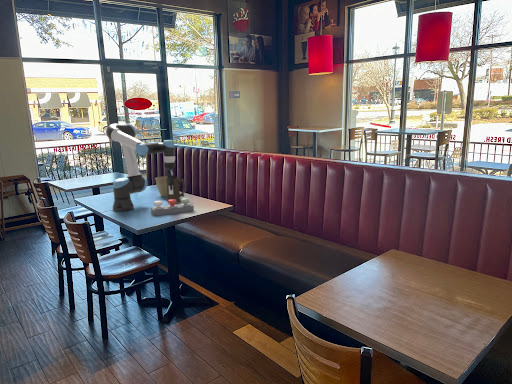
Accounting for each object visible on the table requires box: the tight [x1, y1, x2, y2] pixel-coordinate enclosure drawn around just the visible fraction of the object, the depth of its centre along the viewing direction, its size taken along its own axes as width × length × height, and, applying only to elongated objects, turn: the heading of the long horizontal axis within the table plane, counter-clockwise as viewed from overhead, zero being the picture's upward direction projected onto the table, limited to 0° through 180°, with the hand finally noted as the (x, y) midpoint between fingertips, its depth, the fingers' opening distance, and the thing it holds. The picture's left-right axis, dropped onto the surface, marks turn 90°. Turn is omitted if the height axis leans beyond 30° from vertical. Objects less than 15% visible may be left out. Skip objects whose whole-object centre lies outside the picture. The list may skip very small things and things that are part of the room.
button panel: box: [150, 202, 195, 217], centre depth 273 cm, size 29×10×4 cm, turn 115°
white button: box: [153, 200, 163, 208], centre depth 268 cm, size 6×6×4 cm
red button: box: [167, 199, 177, 206], centre depth 272 cm, size 6×6×4 cm
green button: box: [180, 197, 191, 204], centre depth 276 cm, size 6×6×4 cm
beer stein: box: [166, 176, 186, 203], centre depth 308 cm, size 15×11×20 cm
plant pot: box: [155, 176, 167, 197], centre depth 328 cm, size 15×15×16 cm
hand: (171, 194), depth 271 cm, fingers closed
